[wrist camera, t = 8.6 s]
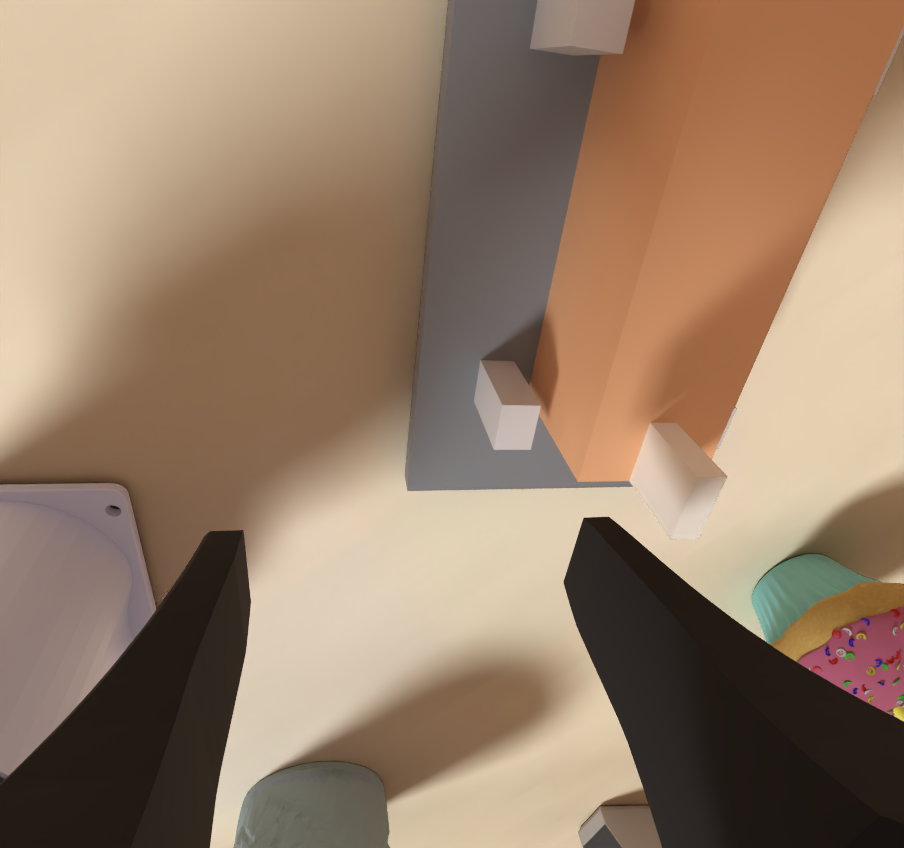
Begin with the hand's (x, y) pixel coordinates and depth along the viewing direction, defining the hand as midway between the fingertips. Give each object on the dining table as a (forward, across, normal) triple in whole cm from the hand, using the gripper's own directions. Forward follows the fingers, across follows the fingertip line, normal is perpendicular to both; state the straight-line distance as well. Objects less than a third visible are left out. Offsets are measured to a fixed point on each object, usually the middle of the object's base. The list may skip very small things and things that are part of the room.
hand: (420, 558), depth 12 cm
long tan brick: (+8, -7, -6) cm, 12 cm away
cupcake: (+9, -23, +13) cm, 28 cm away
